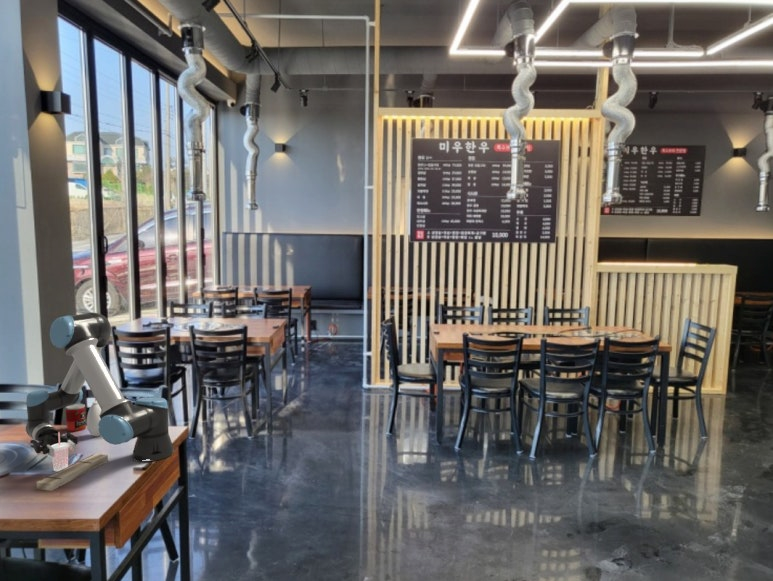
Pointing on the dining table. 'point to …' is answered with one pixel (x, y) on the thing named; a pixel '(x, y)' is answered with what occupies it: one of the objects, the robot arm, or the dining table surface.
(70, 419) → the canned food
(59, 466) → the beverage cup
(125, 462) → the dining table surface
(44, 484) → the maple strip
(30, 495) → the dining table surface
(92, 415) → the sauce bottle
